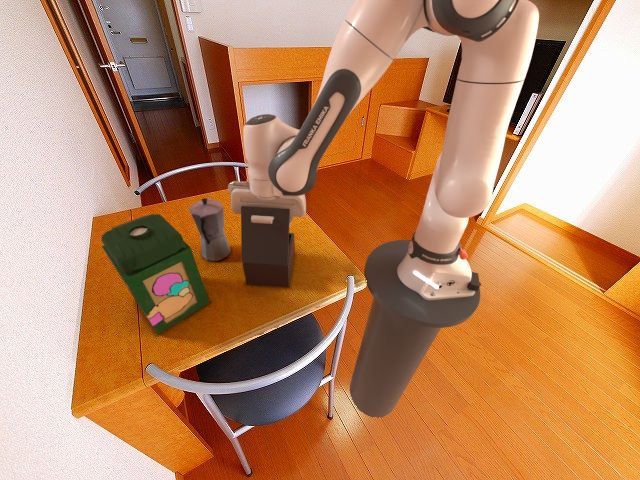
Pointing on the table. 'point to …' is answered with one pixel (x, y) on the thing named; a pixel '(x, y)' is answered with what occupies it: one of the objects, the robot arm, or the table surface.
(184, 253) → the container
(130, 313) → the table surface
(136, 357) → the table surface
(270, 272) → the dark carry box
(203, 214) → the moka pot
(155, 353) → the table surface
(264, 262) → the lid
